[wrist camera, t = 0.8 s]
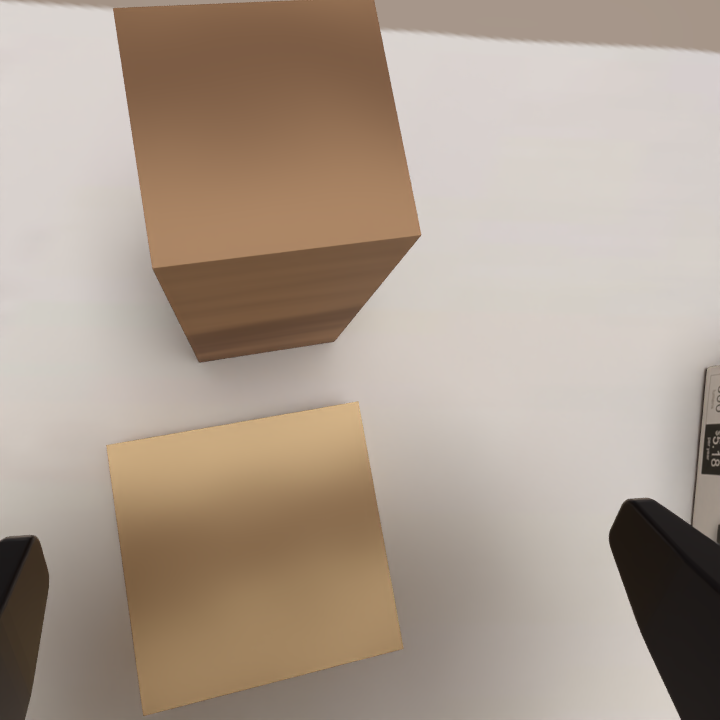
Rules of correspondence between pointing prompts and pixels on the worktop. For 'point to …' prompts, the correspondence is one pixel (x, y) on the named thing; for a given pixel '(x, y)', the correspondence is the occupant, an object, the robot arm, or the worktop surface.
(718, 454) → the light bulb box
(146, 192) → the walnut block
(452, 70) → the worktop surface
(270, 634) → the oak block
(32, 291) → the worktop surface
